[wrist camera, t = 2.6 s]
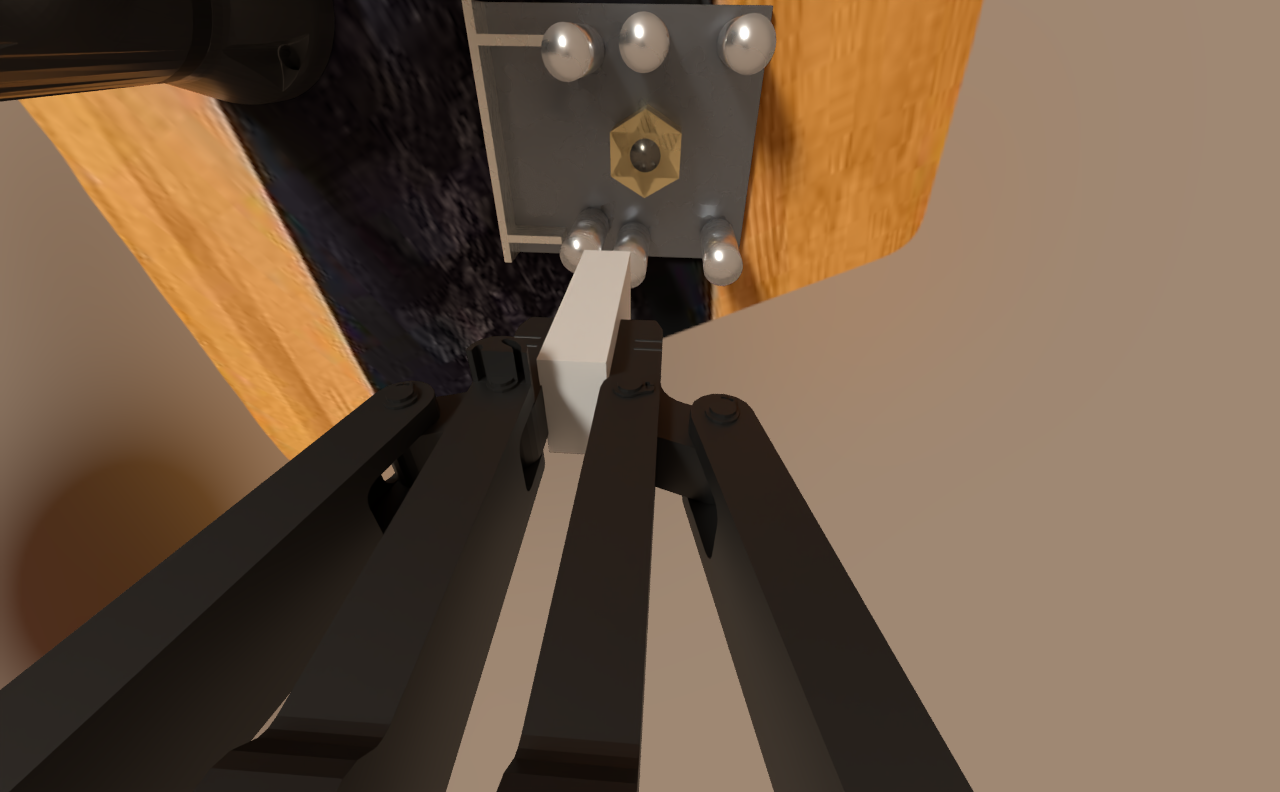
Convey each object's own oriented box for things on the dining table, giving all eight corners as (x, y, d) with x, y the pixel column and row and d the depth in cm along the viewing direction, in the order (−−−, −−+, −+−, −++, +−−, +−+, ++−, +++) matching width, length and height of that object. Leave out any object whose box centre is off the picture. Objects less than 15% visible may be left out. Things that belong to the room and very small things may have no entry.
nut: (615, 187, 38) (611, 197, 36) (613, 103, 35) (609, 108, 32) (677, 188, 38) (677, 199, 36) (682, 104, 35) (682, 109, 32)
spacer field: (512, 248, 43) (484, 284, 36) (474, 2, 32) (426, -6, 26) (736, 256, 42) (746, 294, 36) (771, 5, 32) (793, -1, 25)
